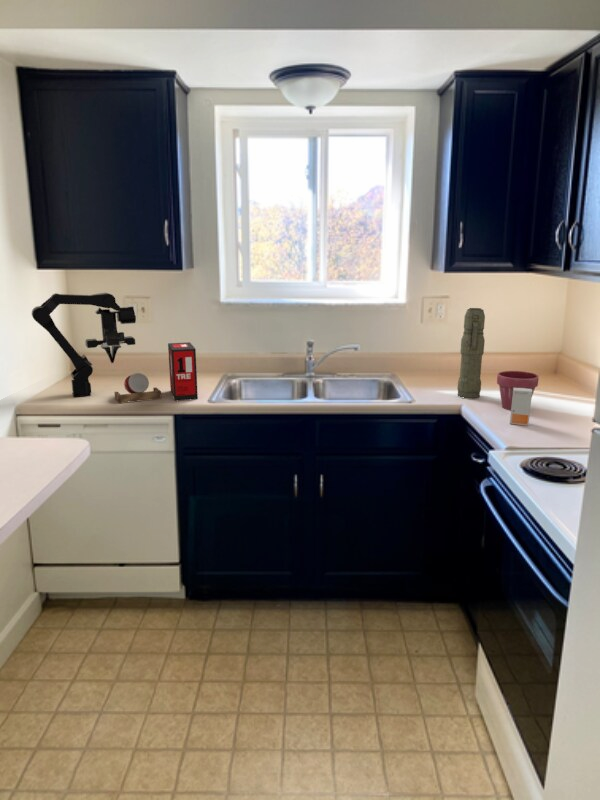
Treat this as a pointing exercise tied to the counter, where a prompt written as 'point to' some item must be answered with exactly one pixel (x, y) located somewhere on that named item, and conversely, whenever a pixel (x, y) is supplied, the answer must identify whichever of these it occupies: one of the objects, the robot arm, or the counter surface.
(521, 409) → the skincare box
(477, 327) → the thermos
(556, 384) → the counter surface
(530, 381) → the plant pot
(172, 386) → the cleaning product box
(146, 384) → the canned food
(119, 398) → the tan bone-shaped block
